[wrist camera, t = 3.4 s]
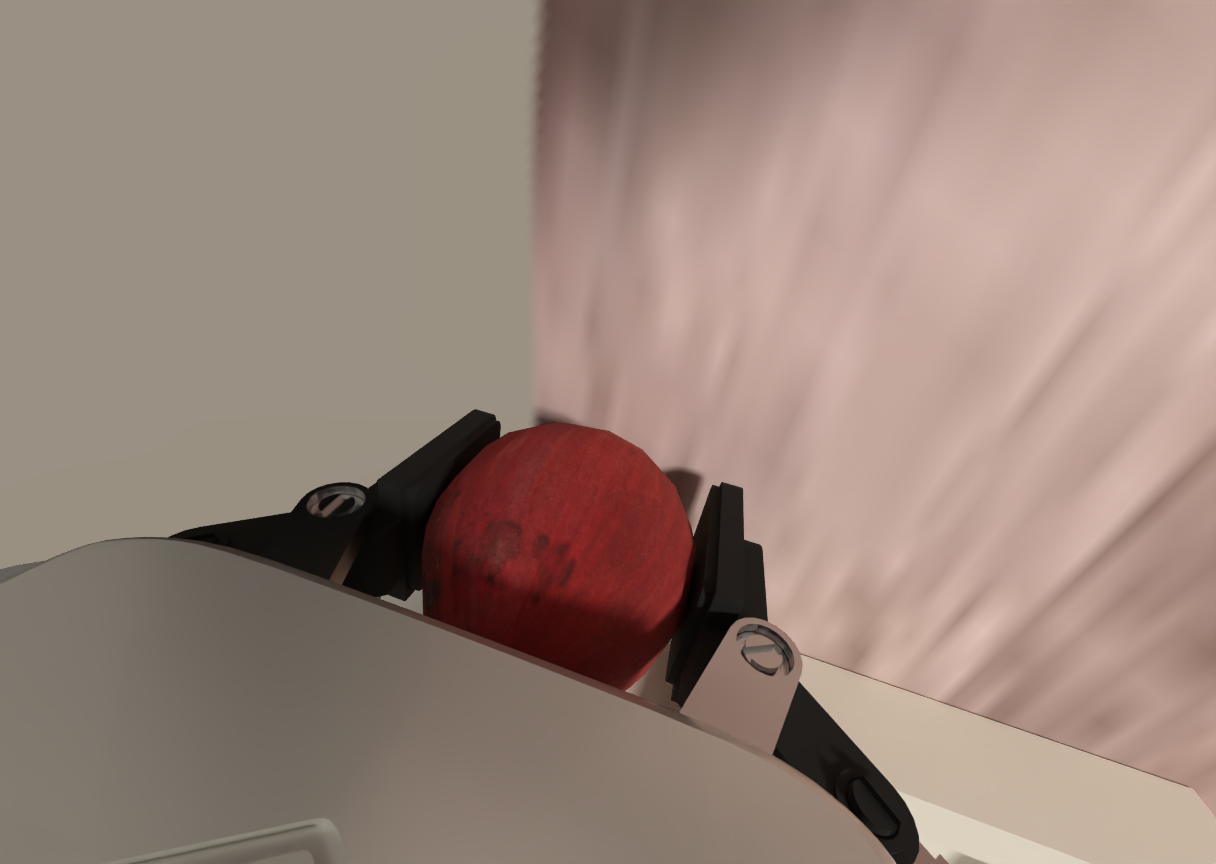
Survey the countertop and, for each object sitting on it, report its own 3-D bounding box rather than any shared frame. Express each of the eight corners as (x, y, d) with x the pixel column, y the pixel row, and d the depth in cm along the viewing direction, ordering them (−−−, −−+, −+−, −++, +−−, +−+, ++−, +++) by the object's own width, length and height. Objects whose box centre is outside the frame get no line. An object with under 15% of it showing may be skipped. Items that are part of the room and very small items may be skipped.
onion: (481, 457, 14) (235, 686, 7) (600, 335, 12) (388, 513, 5) (609, 578, 15) (496, 889, 8) (748, 489, 12) (761, 843, 5)
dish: (740, 633, 15) (740, 732, 12) (1192, 789, 13) (1320, 948, 10) (650, 816, 21) (637, 910, 18) (947, 939, 19) (984, 1065, 16)
